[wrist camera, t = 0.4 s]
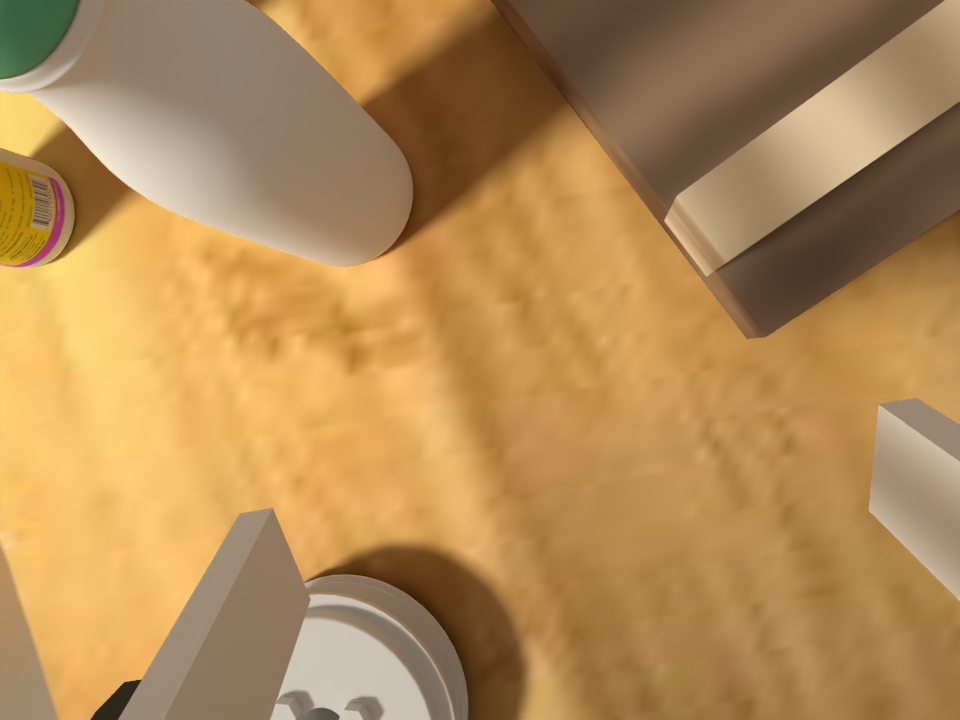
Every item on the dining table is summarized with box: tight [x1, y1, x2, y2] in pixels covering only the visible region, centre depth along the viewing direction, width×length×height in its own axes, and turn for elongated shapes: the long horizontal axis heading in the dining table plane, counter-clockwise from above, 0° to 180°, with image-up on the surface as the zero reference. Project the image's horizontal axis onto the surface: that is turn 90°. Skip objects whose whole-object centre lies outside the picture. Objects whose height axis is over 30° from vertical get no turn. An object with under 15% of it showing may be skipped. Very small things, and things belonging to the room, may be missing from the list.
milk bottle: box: [0, 0, 413, 267], centre depth 21 cm, size 8×8×20 cm
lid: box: [270, 574, 468, 720], centre depth 29 cm, size 13×13×5 cm
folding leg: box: [664, 0, 960, 277], centre depth 21 cm, size 17×3×4 cm, turn 125°
